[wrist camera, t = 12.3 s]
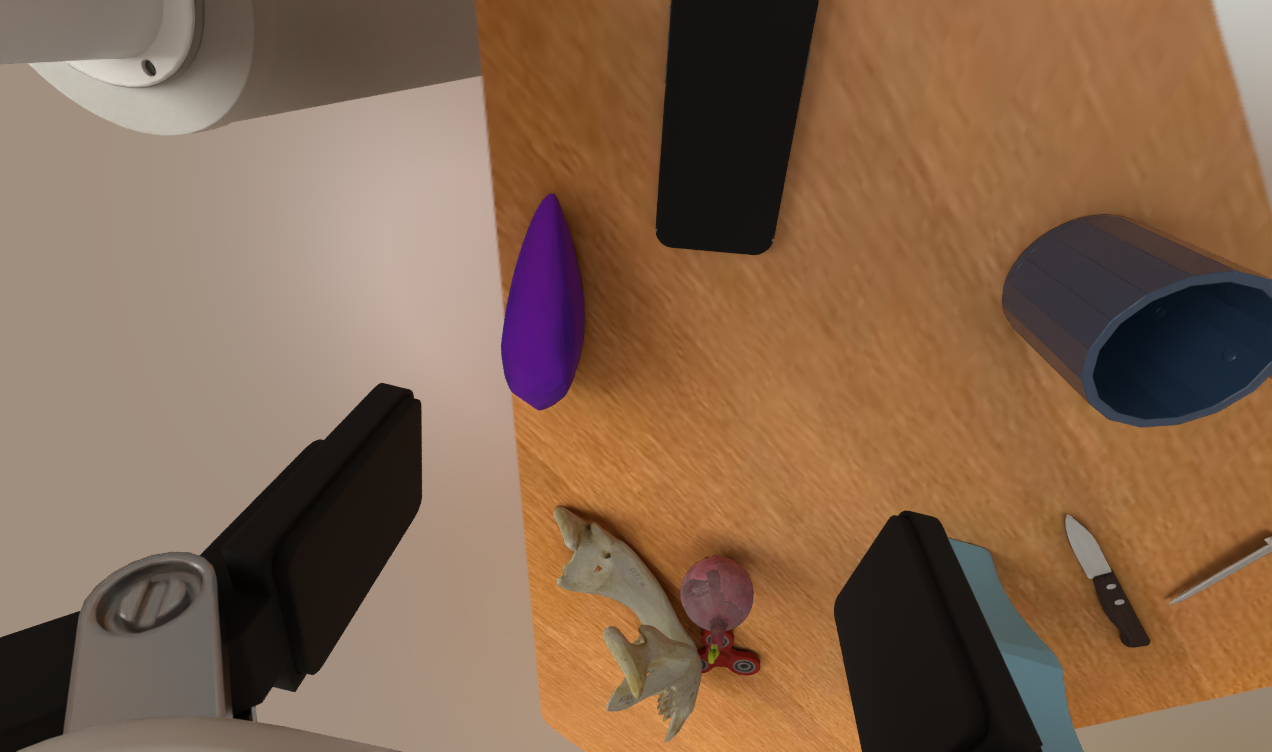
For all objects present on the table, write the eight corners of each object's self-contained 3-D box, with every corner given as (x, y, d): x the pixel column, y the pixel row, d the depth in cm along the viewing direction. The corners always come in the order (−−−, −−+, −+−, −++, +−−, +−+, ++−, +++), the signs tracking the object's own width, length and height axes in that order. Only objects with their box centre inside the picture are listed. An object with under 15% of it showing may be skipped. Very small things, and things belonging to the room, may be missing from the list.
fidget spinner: (676, 670, 58) (677, 658, 59) (740, 692, 58) (739, 680, 59) (709, 630, 53) (709, 618, 54) (778, 655, 54) (777, 643, 55)
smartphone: (653, 246, 34) (674, -57, 26) (654, 242, 35) (675, -55, 27) (771, 256, 34) (829, -50, 26) (770, 253, 35) (827, -48, 26)
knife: (1155, 601, 45) (1166, 601, 46) (1163, 609, 45) (1174, 609, 46) (1354, 487, 37) (1362, 489, 38) (1367, 495, 37) (1375, 498, 38)
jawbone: (759, 780, 50) (662, 845, 48) (667, 622, 64) (589, 665, 62) (742, 626, 36) (604, 706, 34) (630, 467, 50) (526, 514, 48)
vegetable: (725, 523, 47) (727, 629, 39) (765, 564, 49) (776, 674, 41) (669, 549, 50) (659, 655, 41) (710, 587, 52) (709, 695, 43)
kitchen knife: (1119, 640, 49) (1146, 634, 48) (1126, 650, 48) (1153, 645, 48) (1051, 513, 43) (1080, 504, 42) (1057, 523, 42) (1087, 514, 41)
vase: (947, 607, 50) (1067, 904, 33) (863, 585, 49) (940, 872, 33) (998, 551, 45) (1166, 858, 28) (906, 526, 45) (1021, 821, 28)
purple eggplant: (581, 205, 31) (567, 433, 37) (596, 192, 35) (581, 399, 42) (497, 194, 31) (498, 422, 37) (522, 183, 35) (519, 389, 42)
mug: (975, 325, 35) (1046, 405, 28) (1053, 198, 31) (1163, 252, 23) (1145, 366, 36) (1261, 457, 28) (1246, 246, 31) (1417, 315, 24)
